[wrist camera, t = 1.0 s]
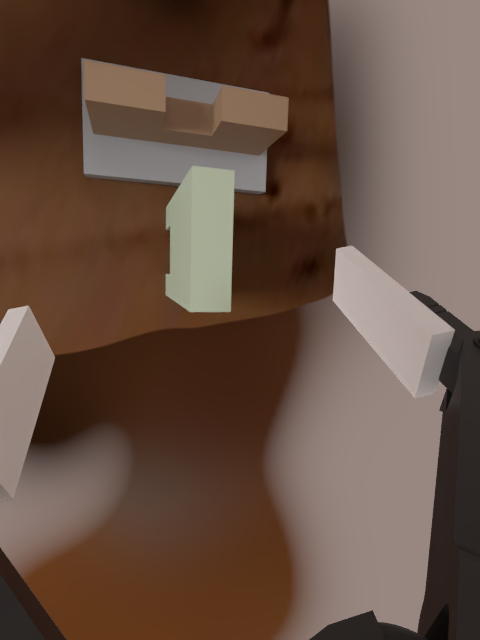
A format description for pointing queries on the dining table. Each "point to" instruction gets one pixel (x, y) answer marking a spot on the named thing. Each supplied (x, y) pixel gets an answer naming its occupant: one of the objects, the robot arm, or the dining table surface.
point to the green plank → (201, 240)
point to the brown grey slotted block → (175, 126)
